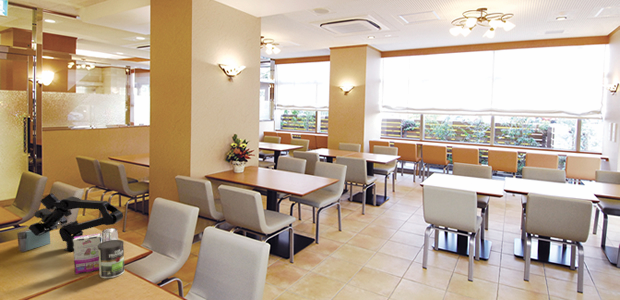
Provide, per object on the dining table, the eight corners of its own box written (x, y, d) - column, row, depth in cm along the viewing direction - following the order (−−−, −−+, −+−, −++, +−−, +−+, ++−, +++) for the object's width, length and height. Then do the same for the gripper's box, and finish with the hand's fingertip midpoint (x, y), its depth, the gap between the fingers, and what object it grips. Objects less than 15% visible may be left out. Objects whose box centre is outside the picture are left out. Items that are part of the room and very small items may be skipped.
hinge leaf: (50, 243, 193) (49, 226, 192) (22, 252, 181) (21, 233, 180) (48, 242, 194) (47, 225, 192) (20, 251, 182) (18, 233, 181)
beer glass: (122, 258, 178) (120, 229, 176) (109, 263, 171) (107, 233, 170) (112, 255, 181) (111, 227, 179) (99, 260, 174) (98, 231, 172)
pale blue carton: (46, 242, 195) (45, 224, 193) (24, 252, 181) (22, 233, 180) (39, 242, 195) (38, 224, 194) (16, 252, 182) (15, 232, 181)
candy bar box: (103, 265, 169) (101, 232, 167) (103, 269, 165) (101, 236, 163) (76, 270, 164) (73, 236, 162) (74, 274, 160) (72, 240, 158)
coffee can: (129, 271, 164) (128, 242, 162) (107, 280, 155) (105, 250, 153) (116, 266, 169) (115, 237, 167) (94, 274, 160) (92, 245, 158)
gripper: (60, 199, 194) (44, 218, 197) (30, 209, 175) (12, 229, 178) (74, 214, 194) (58, 232, 197) (45, 225, 175) (28, 245, 178)
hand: (39, 234), depth 187 cm, fingers closed
